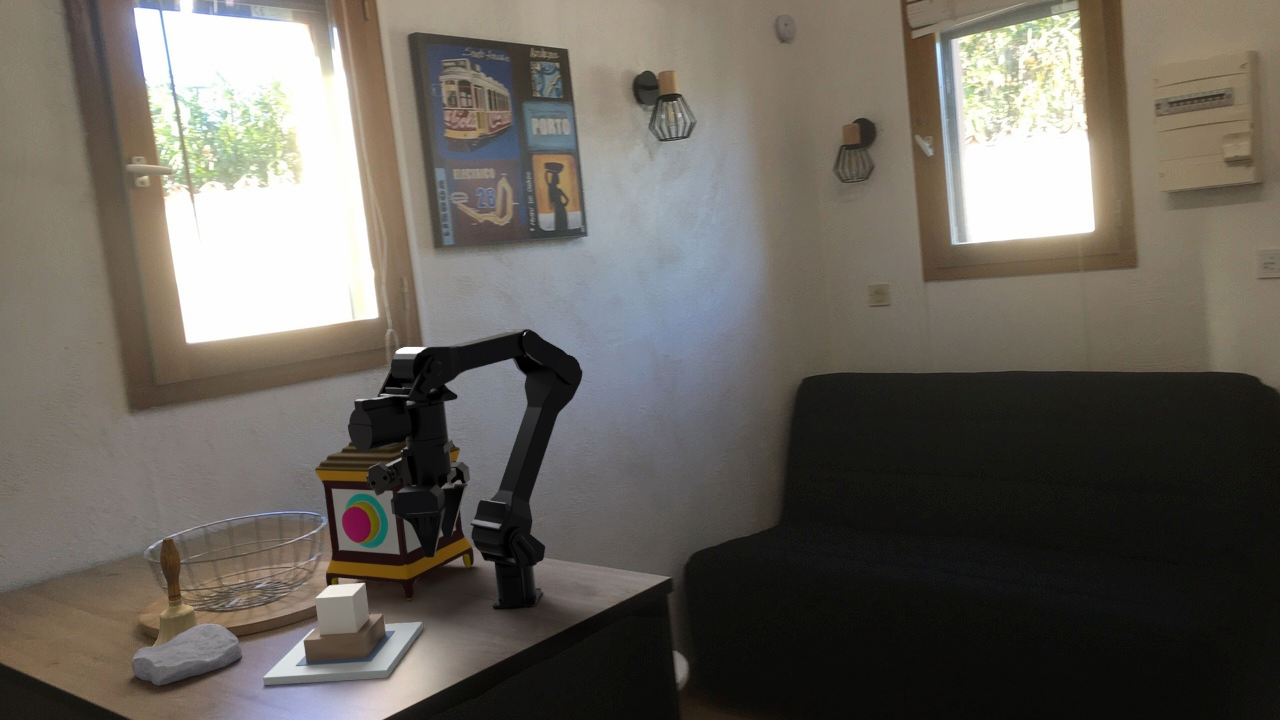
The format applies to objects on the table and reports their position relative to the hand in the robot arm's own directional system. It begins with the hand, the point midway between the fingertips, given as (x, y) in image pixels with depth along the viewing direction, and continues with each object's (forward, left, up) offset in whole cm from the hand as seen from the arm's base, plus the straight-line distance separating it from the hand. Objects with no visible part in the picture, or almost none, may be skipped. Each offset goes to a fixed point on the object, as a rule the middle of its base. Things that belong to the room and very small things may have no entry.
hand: (439, 546), depth 134 cm
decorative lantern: (-24, -14, -12) cm, 30 cm away
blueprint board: (+7, -12, -12) cm, 18 cm away
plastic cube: (+7, -12, -8) cm, 16 cm away
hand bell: (0, -39, -12) cm, 41 cm away
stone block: (+7, -33, -12) cm, 37 cm away
